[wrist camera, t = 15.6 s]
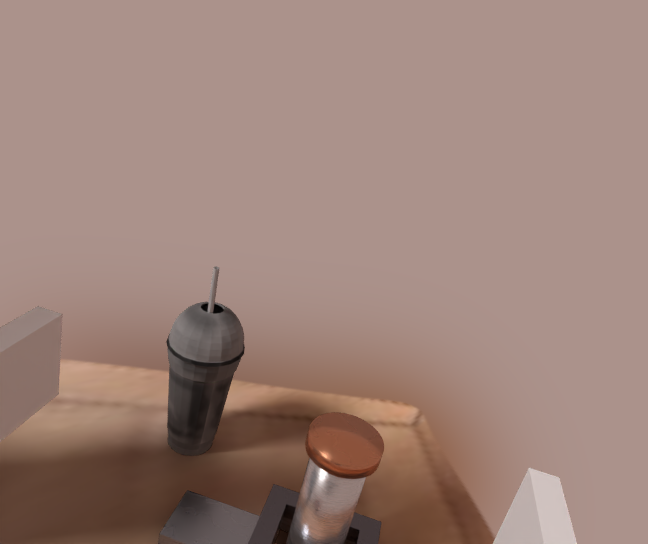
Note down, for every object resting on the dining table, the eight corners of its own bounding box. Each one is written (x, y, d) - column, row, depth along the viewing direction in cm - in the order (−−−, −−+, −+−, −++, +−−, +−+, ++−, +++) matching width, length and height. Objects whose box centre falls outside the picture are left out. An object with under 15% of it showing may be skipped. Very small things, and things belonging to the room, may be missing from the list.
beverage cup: (233, 425, 60) (267, 258, 52) (215, 473, 53) (251, 288, 45) (168, 410, 59) (192, 240, 52) (141, 455, 53) (165, 267, 45)
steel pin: (259, 560, 45) (293, 422, 40) (312, 535, 49) (351, 405, 43) (296, 618, 41) (341, 475, 36) (352, 587, 45) (399, 452, 40)
